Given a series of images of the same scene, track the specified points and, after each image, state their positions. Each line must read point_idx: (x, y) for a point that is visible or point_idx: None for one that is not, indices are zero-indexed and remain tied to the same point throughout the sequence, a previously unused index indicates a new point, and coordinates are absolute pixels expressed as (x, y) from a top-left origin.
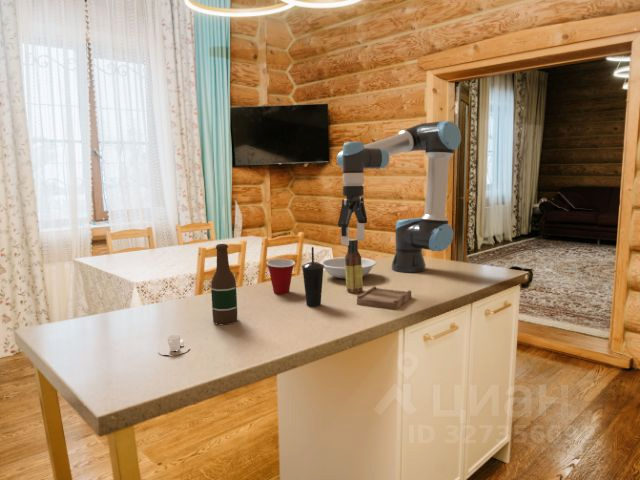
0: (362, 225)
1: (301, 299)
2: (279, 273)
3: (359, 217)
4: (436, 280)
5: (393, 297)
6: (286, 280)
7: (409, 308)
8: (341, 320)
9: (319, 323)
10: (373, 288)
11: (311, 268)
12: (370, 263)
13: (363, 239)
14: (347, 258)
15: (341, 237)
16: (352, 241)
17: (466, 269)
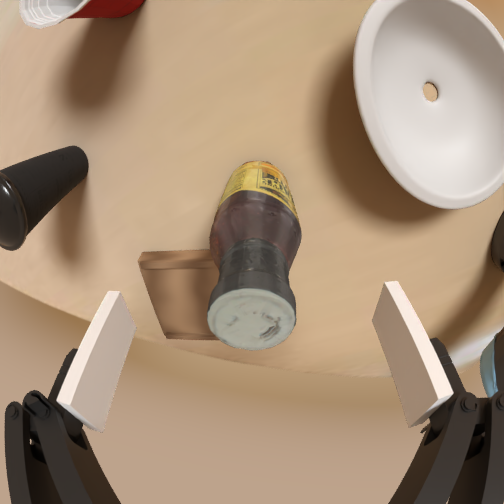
0: (407, 410)
1: (90, 98)
2: (50, 10)
3: (414, 476)
4: (430, 315)
5: (202, 322)
6: (85, 17)
7: (190, 340)
8: (56, 270)
9: (26, 247)
10: None
11: None
12: (489, 172)
13: (374, 326)
14: (210, 234)
15: (87, 332)
16: (214, 331)
17: (496, 318)
